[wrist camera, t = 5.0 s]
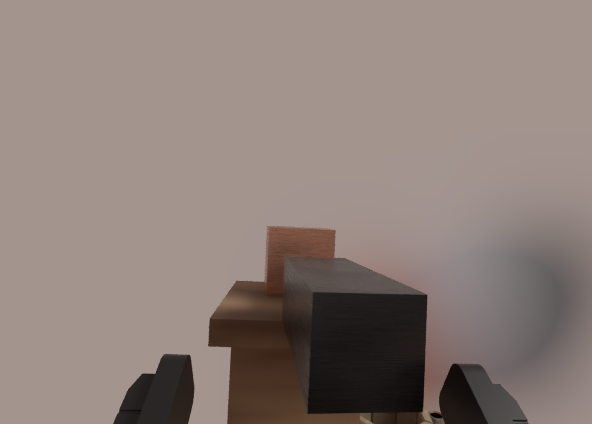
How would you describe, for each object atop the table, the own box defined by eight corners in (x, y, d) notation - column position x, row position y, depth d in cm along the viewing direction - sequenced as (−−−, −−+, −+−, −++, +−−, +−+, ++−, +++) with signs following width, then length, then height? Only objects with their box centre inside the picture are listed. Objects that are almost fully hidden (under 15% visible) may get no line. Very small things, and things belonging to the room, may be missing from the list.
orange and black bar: (446, 411, 11) (452, 246, 11) (281, 414, 10) (289, 239, 10) (318, 282, 32) (320, 228, 33) (264, 280, 32) (266, 225, 32)
